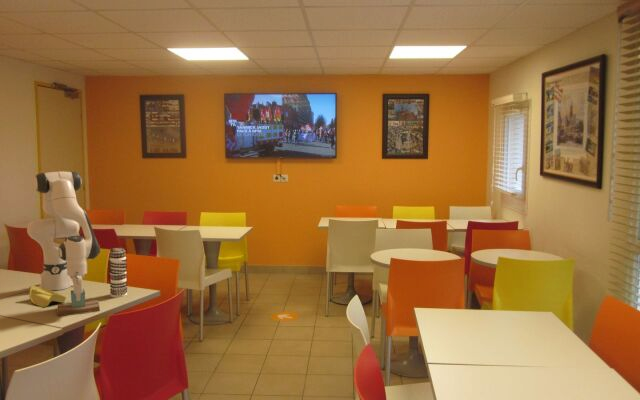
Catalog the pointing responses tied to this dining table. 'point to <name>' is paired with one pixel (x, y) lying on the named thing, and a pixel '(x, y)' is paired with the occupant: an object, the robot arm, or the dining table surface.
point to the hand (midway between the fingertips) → (78, 298)
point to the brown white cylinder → (118, 272)
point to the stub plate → (78, 308)
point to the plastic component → (44, 296)
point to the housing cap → (78, 303)
